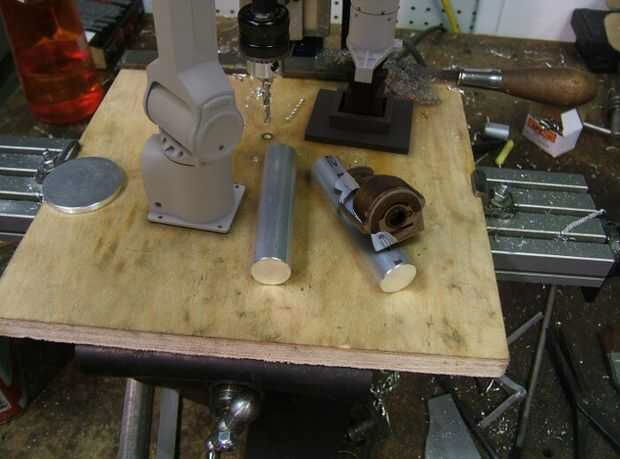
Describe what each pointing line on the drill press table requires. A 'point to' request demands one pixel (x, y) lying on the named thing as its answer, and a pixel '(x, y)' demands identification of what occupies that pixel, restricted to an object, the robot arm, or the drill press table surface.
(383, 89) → the dark brown block
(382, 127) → the base pad
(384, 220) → the brown bearing housing
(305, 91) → the drill press table surface
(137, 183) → the drill press table surface
